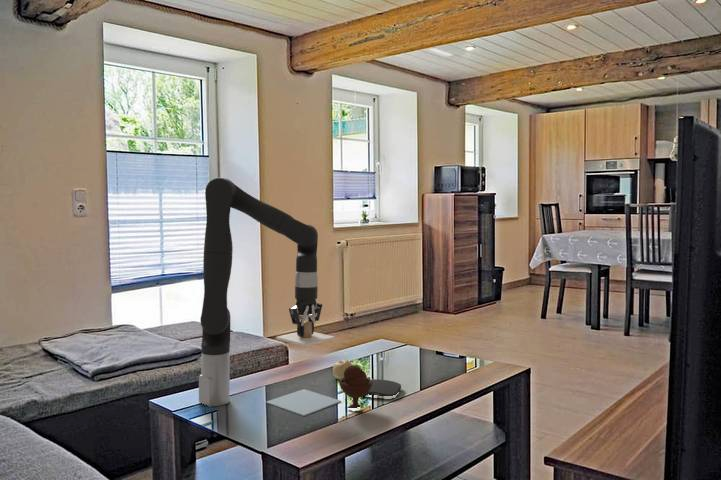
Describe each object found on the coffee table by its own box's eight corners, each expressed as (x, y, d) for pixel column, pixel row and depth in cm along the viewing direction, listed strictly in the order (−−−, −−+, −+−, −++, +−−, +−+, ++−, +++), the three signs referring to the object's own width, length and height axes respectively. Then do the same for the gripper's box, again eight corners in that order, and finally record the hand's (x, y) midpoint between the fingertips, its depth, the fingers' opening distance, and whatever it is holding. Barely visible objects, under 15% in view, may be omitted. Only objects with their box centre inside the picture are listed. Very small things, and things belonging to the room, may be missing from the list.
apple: (358, 378, 234) (354, 363, 229) (340, 388, 231) (336, 374, 227) (349, 366, 240) (344, 352, 236) (331, 376, 237) (327, 362, 233)
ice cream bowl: (372, 415, 196) (373, 369, 194) (337, 414, 196) (338, 369, 195) (372, 404, 206) (373, 360, 205) (339, 403, 206) (340, 359, 205)
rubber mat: (303, 416, 194) (303, 415, 194) (266, 402, 205) (266, 401, 205) (341, 402, 208) (341, 400, 208) (304, 390, 219) (304, 389, 219)
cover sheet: (305, 346, 195) (305, 328, 194) (275, 339, 204) (276, 322, 203) (334, 339, 205) (335, 322, 205) (305, 332, 214) (305, 316, 214)
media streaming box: (402, 389, 224) (403, 381, 224) (394, 402, 210) (394, 393, 210) (364, 384, 228) (364, 377, 227) (353, 397, 214) (354, 388, 213)
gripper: (298, 288, 195) (298, 341, 197) (329, 283, 206) (328, 333, 208) (282, 285, 200) (282, 337, 201) (313, 281, 211) (312, 330, 212)
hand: (305, 335), depth 204 cm, fingers closed on cover sheet, 4 cm apart
